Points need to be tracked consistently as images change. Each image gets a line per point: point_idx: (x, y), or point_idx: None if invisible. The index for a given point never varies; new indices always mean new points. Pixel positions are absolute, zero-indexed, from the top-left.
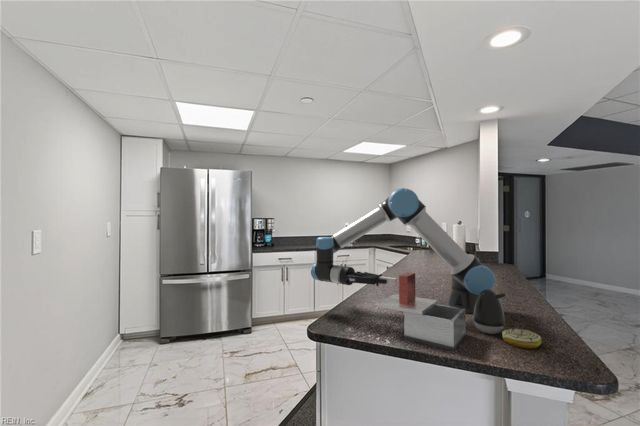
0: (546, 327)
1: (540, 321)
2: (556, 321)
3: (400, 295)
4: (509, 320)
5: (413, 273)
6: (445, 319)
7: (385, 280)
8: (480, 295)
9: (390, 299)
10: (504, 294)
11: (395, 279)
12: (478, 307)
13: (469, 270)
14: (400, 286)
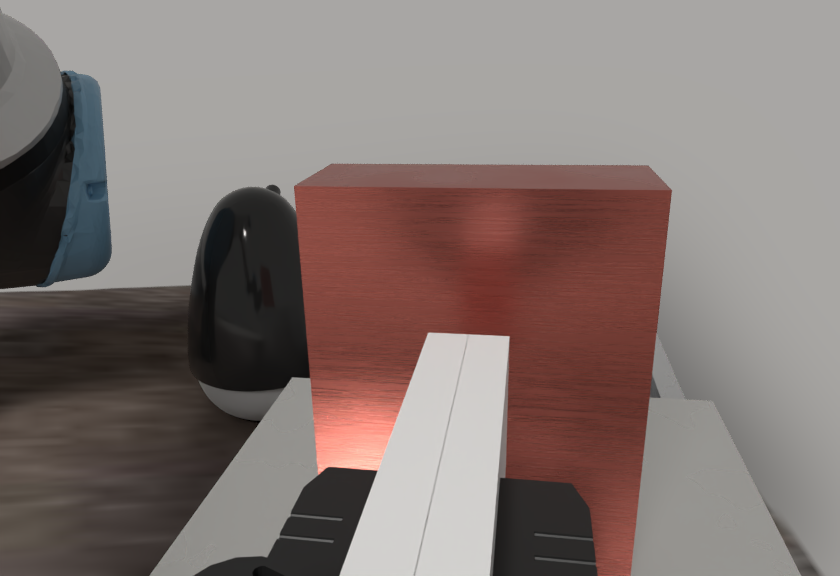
0: (160, 307)
1: (84, 312)
2: (81, 293)
3: (635, 472)
4: (75, 360)
5: (364, 165)
6: (657, 353)
7: (571, 496)
8: (266, 230)
9: None
10: (278, 188)
11: (486, 347)
12: (295, 296)
13: (83, 110)
14: (649, 352)
